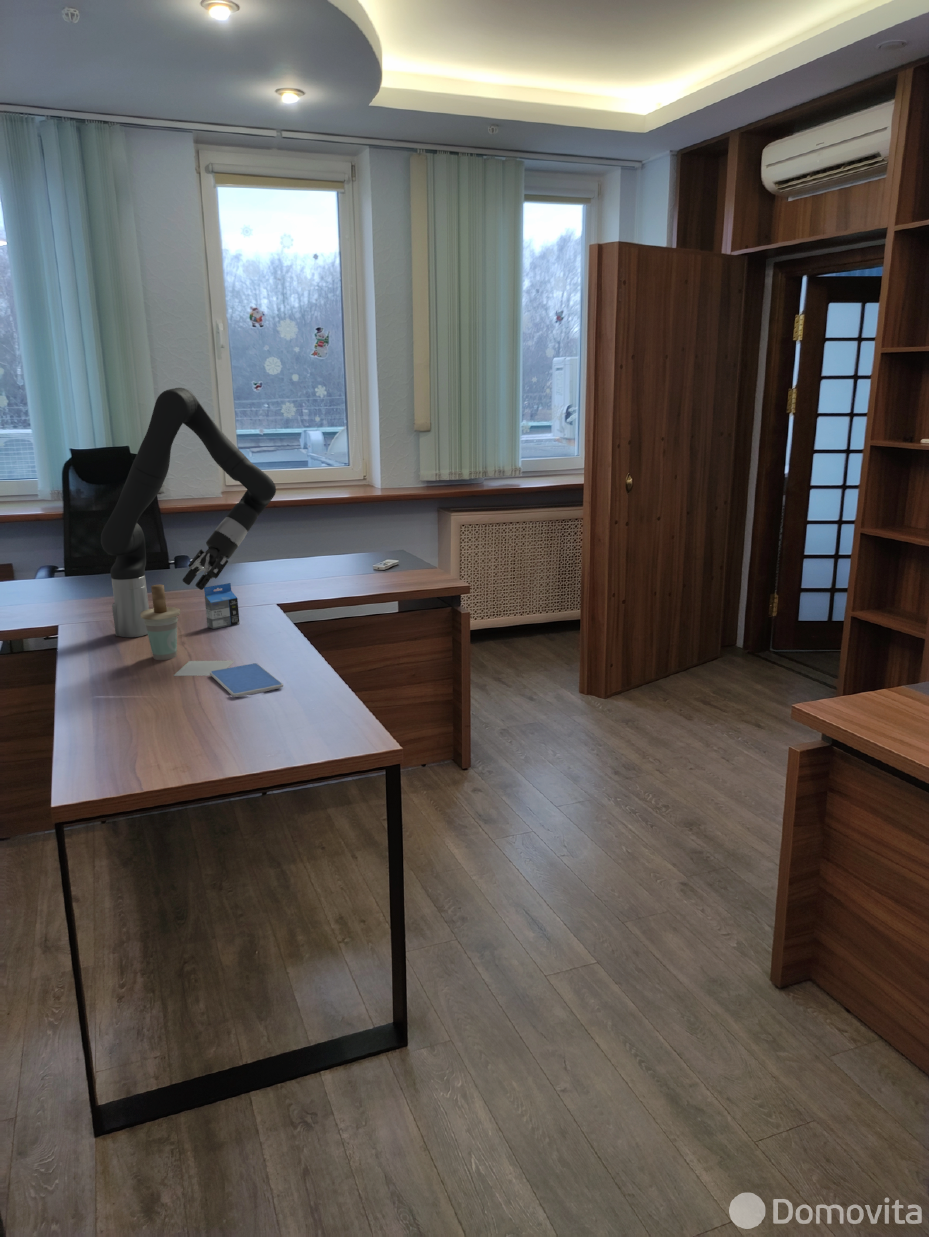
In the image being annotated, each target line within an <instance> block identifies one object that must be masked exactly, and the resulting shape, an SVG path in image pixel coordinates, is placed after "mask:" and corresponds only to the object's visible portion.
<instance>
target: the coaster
mask: <svg viewBox="0 0 929 1237" xmlns="http://www.w3.org/2000/svg"><path fill="white" fill-rule="evenodd" d="M234 662H235V660H189V661H187V663H186V664H185V665H183V666H182V667H181V668H180V669H179V670H177V672H176V673H174V674H173V677H197V676H198V677H201V676H202V677H206V676H207V677H209V676H210V677H212V676H211V675H210V672H211V671H215V670H221V669H226V668H230V667H231V665H233V663H234Z"/></svg>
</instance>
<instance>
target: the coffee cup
mask: <svg viewBox="0 0 929 1237" xmlns="http://www.w3.org/2000/svg"><path fill="white" fill-rule="evenodd" d="M178 621H179V619H178V617H177V616H175V617H172V618H167V619H158V620H148V619H145V621H144V622H145V623H144V624H145V625H146V629H147V633H148V634H147V638H148V641H149V644H150V649H151V654H152V657H153V659H154V660H157V661H168V660H172V659H175V658H176V657H177V656H178V655H177V654H178V653H177V652H178V645H177V644H178Z"/></svg>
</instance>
